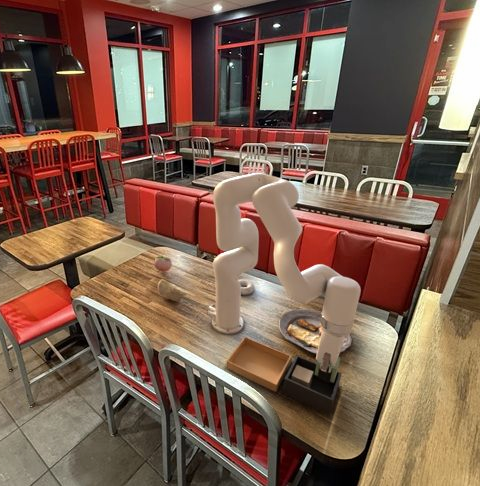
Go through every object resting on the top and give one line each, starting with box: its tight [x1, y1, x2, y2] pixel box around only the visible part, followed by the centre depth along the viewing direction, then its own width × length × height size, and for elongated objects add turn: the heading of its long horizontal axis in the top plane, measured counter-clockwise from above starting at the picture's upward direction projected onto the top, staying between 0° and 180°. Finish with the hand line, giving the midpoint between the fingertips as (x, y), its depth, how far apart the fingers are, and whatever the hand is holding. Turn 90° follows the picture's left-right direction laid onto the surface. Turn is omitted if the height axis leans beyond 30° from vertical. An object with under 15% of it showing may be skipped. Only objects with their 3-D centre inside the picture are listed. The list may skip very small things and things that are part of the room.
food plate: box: [278, 308, 353, 355], centre depth 116 cm, size 25×23×4 cm
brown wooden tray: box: [225, 336, 293, 393], centre depth 104 cm, size 17×14×3 cm
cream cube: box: [291, 365, 313, 388], centre depth 95 cm, size 5×5×5 cm
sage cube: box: [315, 356, 341, 383], centre depth 88 cm, size 5×5×5 cm
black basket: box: [282, 354, 343, 417], centre depth 93 cm, size 13×11×6 cm
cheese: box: [157, 278, 188, 302], centre depth 141 cm, size 15×7×15 cm
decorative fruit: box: [153, 254, 173, 273], centre depth 162 cm, size 9×8×10 cm
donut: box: [237, 279, 255, 296], centre depth 144 cm, size 10×3×10 cm
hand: (326, 372), depth 89 cm, fingers closed on sage cube, 5 cm apart
